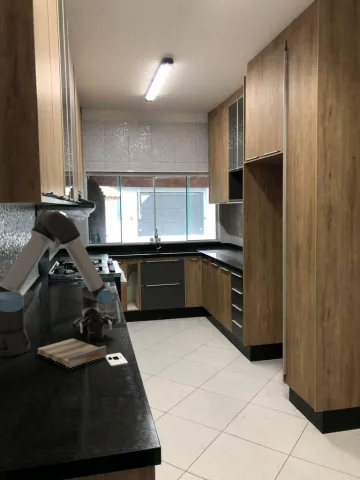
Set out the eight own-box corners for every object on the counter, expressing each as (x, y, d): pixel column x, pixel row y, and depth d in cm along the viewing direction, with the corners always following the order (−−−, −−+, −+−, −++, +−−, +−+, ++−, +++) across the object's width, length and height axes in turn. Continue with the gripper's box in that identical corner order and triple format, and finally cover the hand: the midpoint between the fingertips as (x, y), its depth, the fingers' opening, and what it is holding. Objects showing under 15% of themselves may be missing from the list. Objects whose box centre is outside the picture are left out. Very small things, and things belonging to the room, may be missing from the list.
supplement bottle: (88, 343, 164) (87, 316, 163) (87, 339, 171) (86, 312, 170) (104, 342, 166) (103, 315, 165) (103, 337, 172) (102, 311, 172)
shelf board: (37, 354, 152) (37, 344, 152) (72, 344, 164) (72, 334, 164) (70, 369, 137) (70, 358, 137) (106, 356, 149) (106, 346, 149)
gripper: (116, 321, 189) (124, 333, 168) (65, 326, 181) (67, 340, 161) (116, 306, 188) (124, 317, 168) (65, 310, 181) (67, 322, 160)
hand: (96, 328), depth 164 cm, fingers open, 12 cm apart
